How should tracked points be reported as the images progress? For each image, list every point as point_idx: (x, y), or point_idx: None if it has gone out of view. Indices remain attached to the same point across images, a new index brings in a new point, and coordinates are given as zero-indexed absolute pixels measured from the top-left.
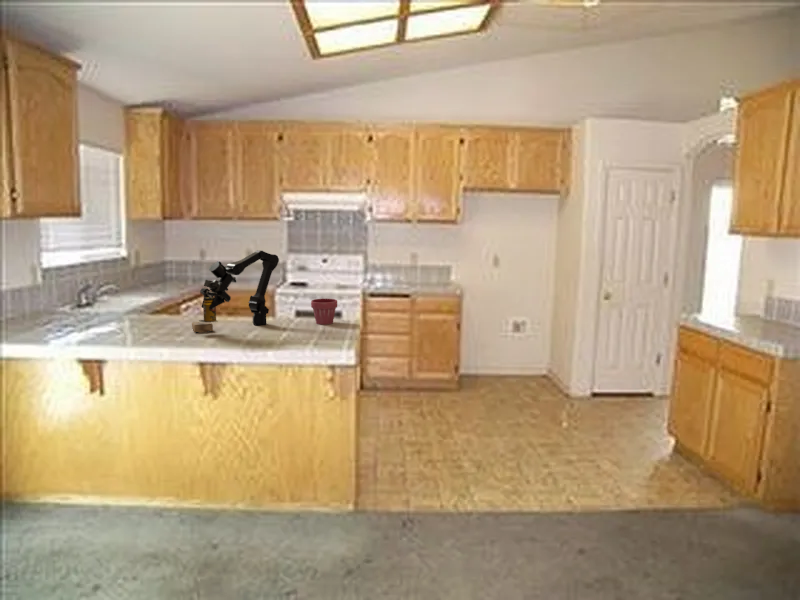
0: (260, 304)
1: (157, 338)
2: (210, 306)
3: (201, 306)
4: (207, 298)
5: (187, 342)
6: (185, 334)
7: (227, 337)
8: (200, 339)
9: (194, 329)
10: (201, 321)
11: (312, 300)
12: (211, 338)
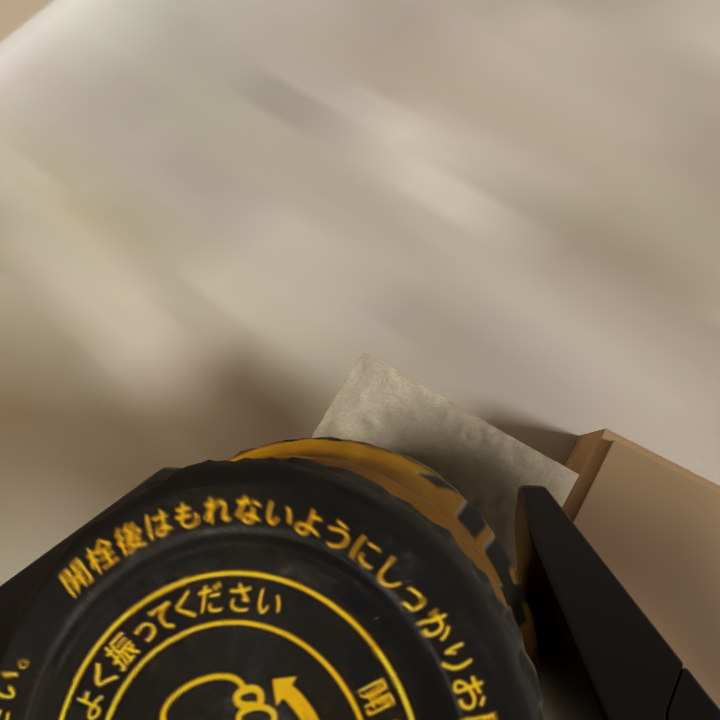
0: None
1: (610, 19)
2: (123, 498)
3: (540, 488)
4: (109, 522)
5: (225, 120)
6: (576, 310)
7: (80, 509)
8: (231, 268)
9: (591, 433)
10: (448, 436)
11: None
12: (178, 368)
